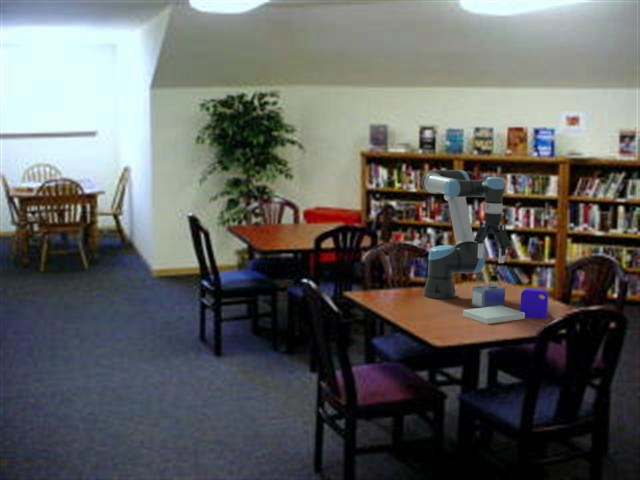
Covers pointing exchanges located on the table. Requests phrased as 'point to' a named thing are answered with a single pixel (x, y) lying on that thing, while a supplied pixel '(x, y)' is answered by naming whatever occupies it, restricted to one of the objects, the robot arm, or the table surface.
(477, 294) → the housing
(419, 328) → the table surface
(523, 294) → the bracket
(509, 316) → the tray
